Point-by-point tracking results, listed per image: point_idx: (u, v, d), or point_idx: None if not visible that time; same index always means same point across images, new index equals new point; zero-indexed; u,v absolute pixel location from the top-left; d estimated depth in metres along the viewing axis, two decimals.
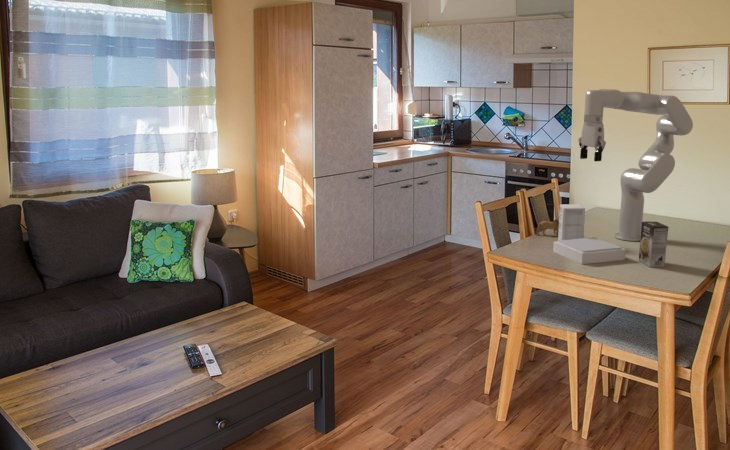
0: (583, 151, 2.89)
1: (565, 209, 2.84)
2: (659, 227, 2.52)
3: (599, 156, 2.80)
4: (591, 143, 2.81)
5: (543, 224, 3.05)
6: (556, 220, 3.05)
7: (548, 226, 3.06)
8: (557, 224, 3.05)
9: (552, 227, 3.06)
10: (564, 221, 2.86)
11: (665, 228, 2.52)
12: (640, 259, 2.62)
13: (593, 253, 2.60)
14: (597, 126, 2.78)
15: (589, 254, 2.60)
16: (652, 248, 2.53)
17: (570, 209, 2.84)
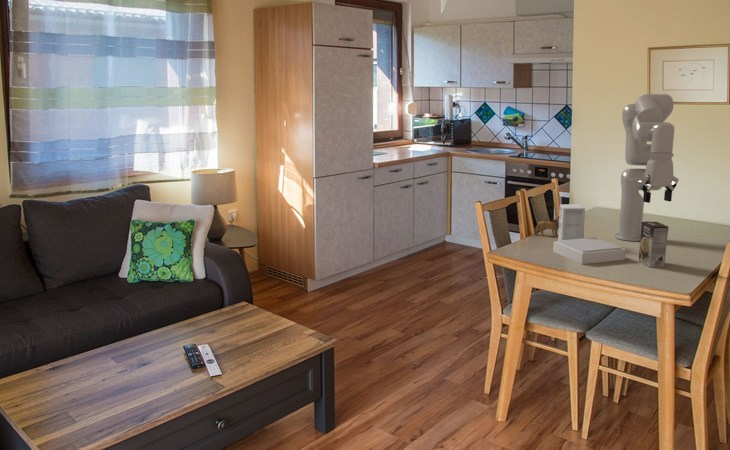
0: None
1: (565, 209, 2.84)
2: (659, 227, 2.52)
3: None
4: (668, 182, 2.51)
5: (542, 224, 3.05)
6: (555, 220, 3.05)
7: (547, 226, 3.05)
8: (556, 224, 3.05)
9: (551, 227, 3.05)
10: (564, 221, 2.86)
11: (665, 228, 2.52)
12: (640, 259, 2.62)
13: (593, 253, 2.60)
14: None
15: (589, 254, 2.60)
16: (652, 248, 2.53)
17: (570, 209, 2.84)
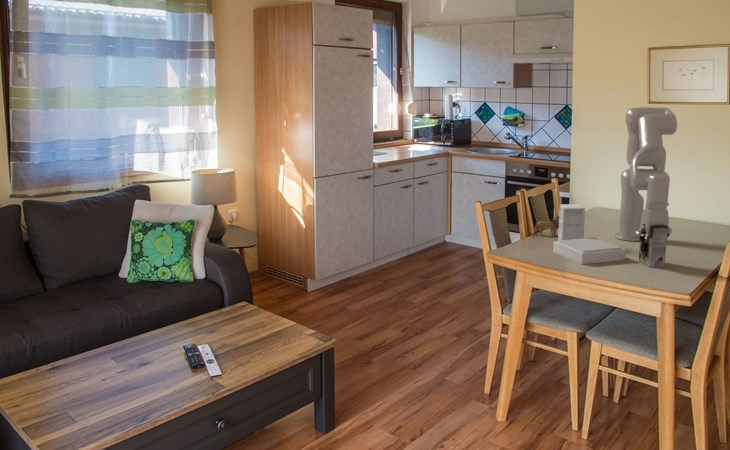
0: None
1: (565, 209, 2.84)
2: (659, 227, 2.52)
3: None
4: None
5: (540, 224, 3.05)
6: (553, 220, 3.05)
7: (545, 226, 3.05)
8: (554, 224, 3.05)
9: (549, 227, 3.05)
10: (564, 221, 2.86)
11: (665, 228, 2.52)
12: (640, 259, 2.62)
13: (593, 253, 2.60)
14: None
15: (589, 254, 2.60)
16: (652, 247, 2.53)
17: (570, 209, 2.84)
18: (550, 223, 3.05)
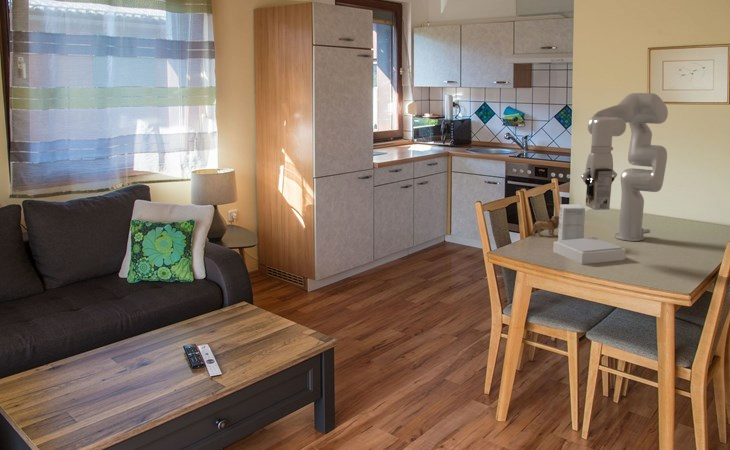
0: None
1: (565, 209, 2.84)
2: (603, 170, 2.58)
3: None
4: None
5: (538, 224, 3.05)
6: (551, 220, 3.05)
7: (543, 226, 3.05)
8: (552, 224, 3.05)
9: (547, 227, 3.05)
10: (564, 221, 2.86)
11: (609, 171, 2.59)
12: (587, 203, 2.68)
13: (593, 253, 2.60)
14: None
15: (589, 254, 2.60)
16: (597, 190, 2.60)
17: (570, 209, 2.84)
18: (548, 223, 3.05)
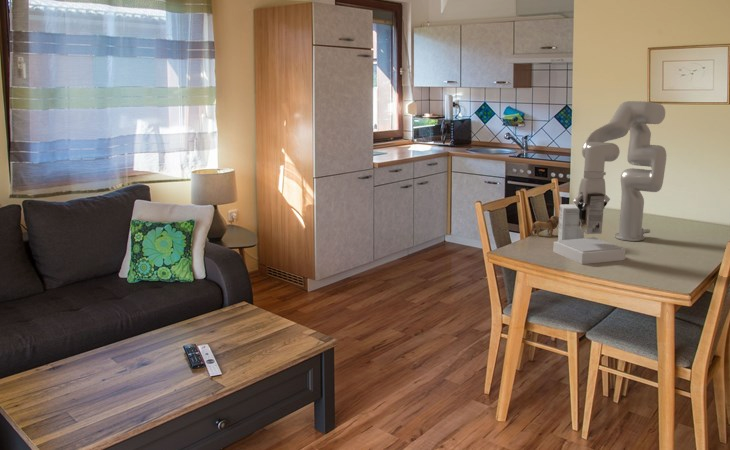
0: None
1: (565, 209, 2.84)
2: (595, 195, 2.62)
3: None
4: None
5: (537, 224, 3.05)
6: (550, 220, 3.05)
7: (542, 226, 3.05)
8: (551, 224, 3.05)
9: (546, 227, 3.05)
10: (564, 221, 2.86)
11: (601, 196, 2.62)
12: (579, 227, 2.72)
13: (593, 253, 2.60)
14: None
15: (589, 254, 2.60)
16: (589, 215, 2.63)
17: (570, 209, 2.84)
18: (547, 223, 3.05)
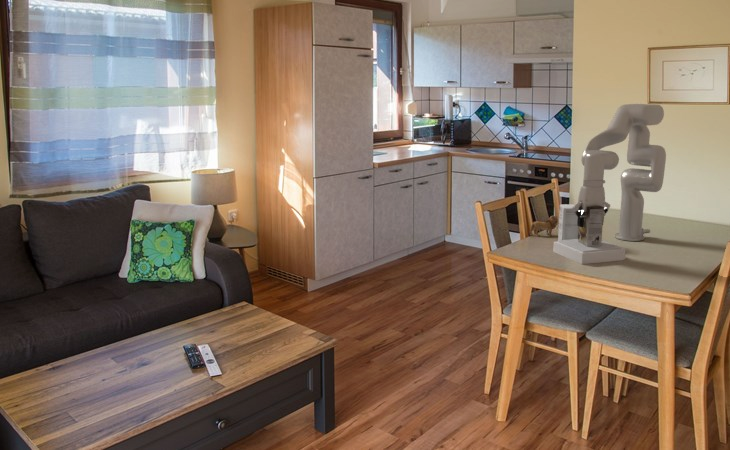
0: None
1: (565, 209, 2.84)
2: (595, 208, 2.63)
3: None
4: None
5: (536, 224, 3.05)
6: (549, 220, 3.05)
7: (541, 226, 3.05)
8: (550, 224, 3.05)
9: (545, 227, 3.05)
10: (564, 221, 2.86)
11: (600, 209, 2.63)
12: (579, 239, 2.73)
13: (593, 253, 2.60)
14: None
15: (589, 254, 2.60)
16: (588, 228, 2.65)
17: (570, 209, 2.84)
18: (546, 223, 3.05)
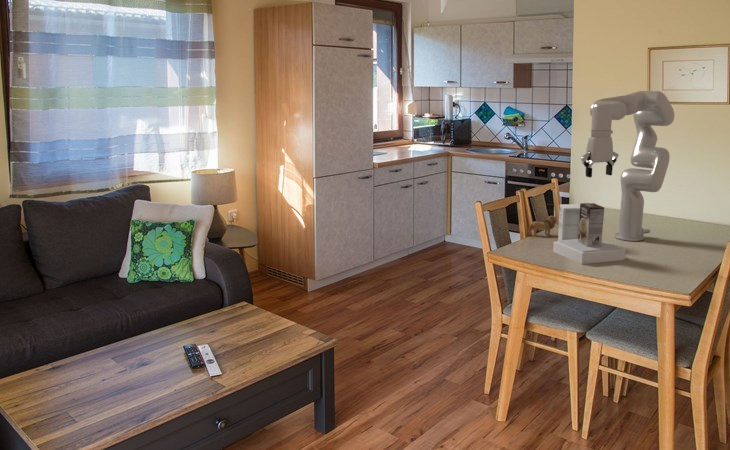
0: None
1: (565, 209, 2.84)
2: (595, 208, 2.63)
3: None
4: (608, 158, 2.69)
5: (534, 224, 3.04)
6: (547, 220, 3.05)
7: (539, 226, 3.05)
8: (548, 224, 3.04)
9: (543, 227, 3.05)
10: (564, 221, 2.86)
11: (601, 209, 2.63)
12: (579, 239, 2.73)
13: (593, 253, 2.60)
14: None
15: (589, 254, 2.60)
16: (589, 228, 2.65)
17: (570, 209, 2.84)
18: (544, 223, 3.05)
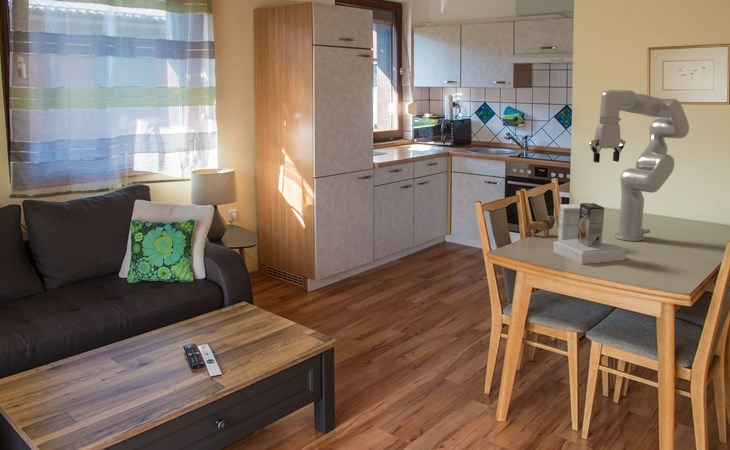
0: None
1: (565, 209, 2.84)
2: (595, 208, 2.63)
3: None
4: (615, 144, 2.79)
5: (533, 225, 3.04)
6: (546, 220, 3.05)
7: (538, 226, 3.05)
8: (547, 224, 3.04)
9: (542, 227, 3.05)
10: (564, 221, 2.86)
11: (601, 209, 2.63)
12: (579, 239, 2.73)
13: (593, 253, 2.60)
14: None
15: (589, 254, 2.60)
16: (589, 228, 2.65)
17: (570, 209, 2.84)
18: (543, 223, 3.05)
